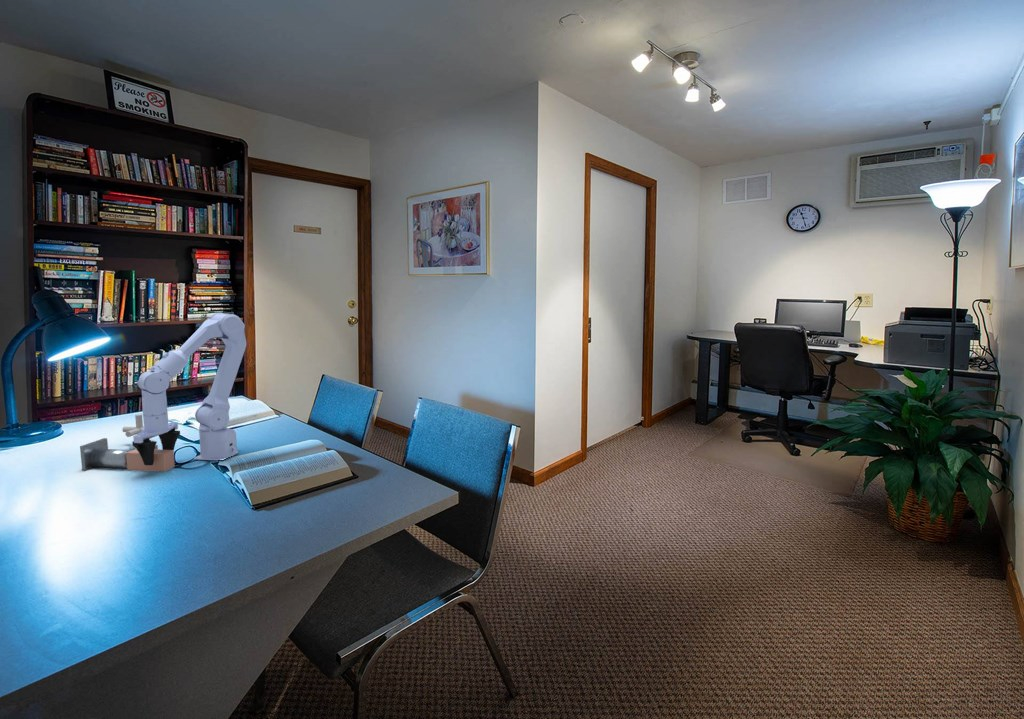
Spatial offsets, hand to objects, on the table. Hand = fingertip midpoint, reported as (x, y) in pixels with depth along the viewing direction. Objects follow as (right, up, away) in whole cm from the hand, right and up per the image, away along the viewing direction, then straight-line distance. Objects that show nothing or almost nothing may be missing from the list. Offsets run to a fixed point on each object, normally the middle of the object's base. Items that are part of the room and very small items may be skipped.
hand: (158, 460), depth 148 cm
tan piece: (-2, -2, +2) cm, 4 cm away
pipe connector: (-20, +1, +21) cm, 29 cm away
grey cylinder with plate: (-14, -2, +1) cm, 14 cm away
